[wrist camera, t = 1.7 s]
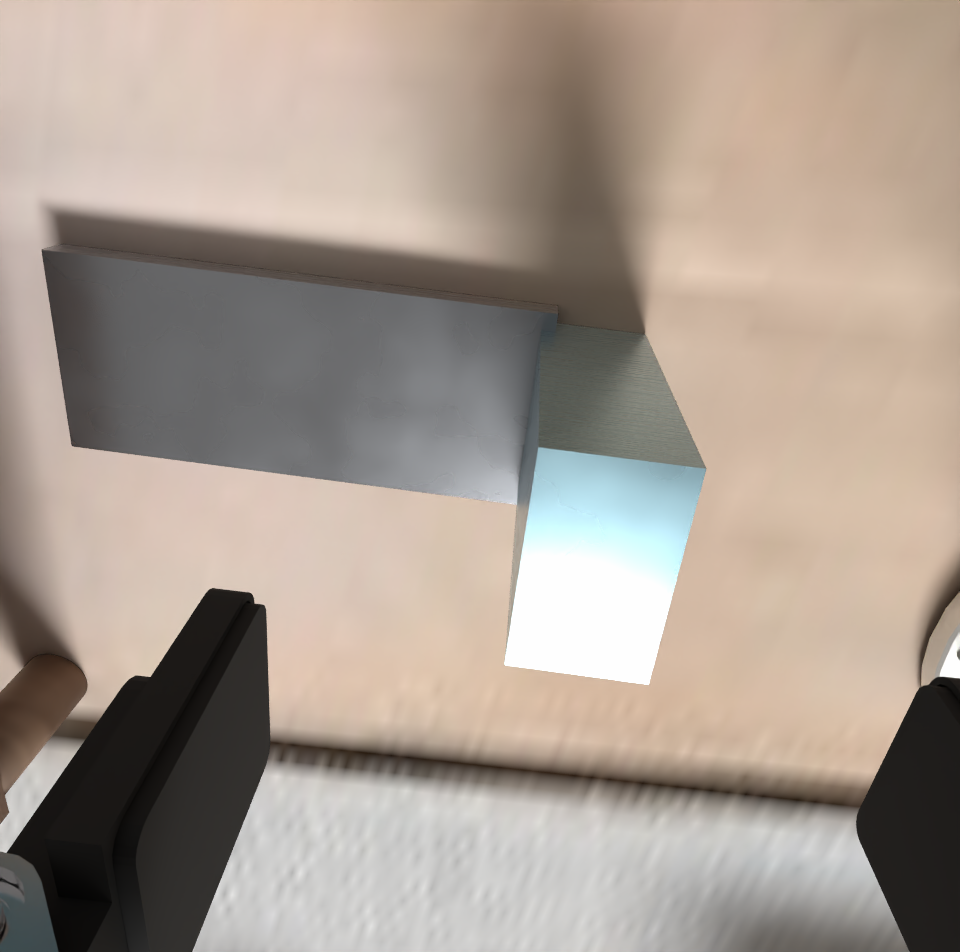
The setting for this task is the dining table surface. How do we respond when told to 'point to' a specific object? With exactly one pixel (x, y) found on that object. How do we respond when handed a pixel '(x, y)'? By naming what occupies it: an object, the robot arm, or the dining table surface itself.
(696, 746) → the dining table surface
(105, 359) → the grey l-shaped piece
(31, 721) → the walnut stand
